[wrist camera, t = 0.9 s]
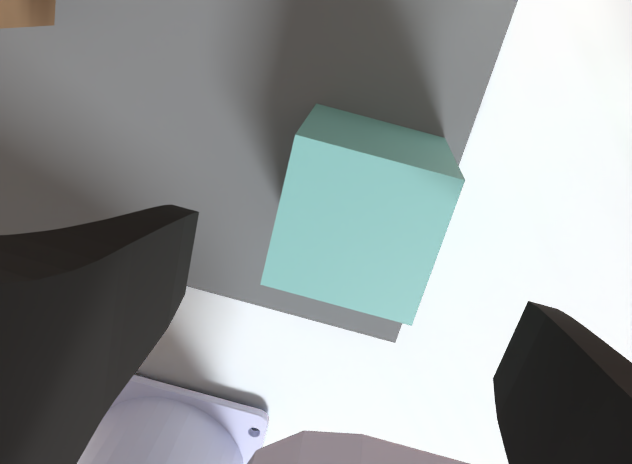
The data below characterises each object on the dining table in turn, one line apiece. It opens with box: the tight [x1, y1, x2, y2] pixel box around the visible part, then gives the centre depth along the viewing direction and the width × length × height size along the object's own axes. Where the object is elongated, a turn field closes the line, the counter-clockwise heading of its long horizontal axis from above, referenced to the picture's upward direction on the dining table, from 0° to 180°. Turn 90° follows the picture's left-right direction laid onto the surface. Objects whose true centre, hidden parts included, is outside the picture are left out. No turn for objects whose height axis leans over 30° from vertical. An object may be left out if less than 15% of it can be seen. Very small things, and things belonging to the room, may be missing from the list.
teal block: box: [260, 103, 465, 326], centre depth 18 cm, size 4×4×5 cm
